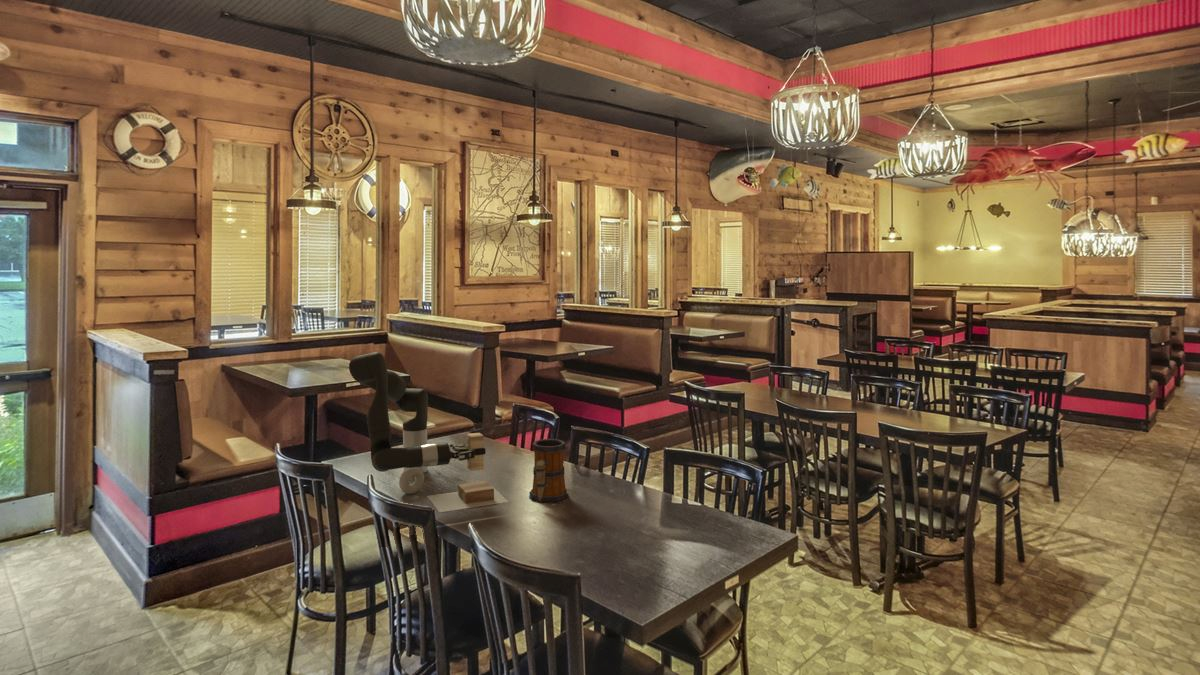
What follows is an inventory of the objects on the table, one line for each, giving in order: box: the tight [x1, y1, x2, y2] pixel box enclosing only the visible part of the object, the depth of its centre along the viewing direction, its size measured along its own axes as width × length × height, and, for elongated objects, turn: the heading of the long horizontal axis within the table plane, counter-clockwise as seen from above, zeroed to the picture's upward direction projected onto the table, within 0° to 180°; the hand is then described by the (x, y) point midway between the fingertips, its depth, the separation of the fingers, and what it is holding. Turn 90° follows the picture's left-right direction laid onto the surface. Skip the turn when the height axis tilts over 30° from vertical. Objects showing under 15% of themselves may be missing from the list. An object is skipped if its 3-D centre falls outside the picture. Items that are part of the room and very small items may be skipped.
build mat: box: [426, 487, 510, 513], centre depth 240 cm, size 18×24×1 cm
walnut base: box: [457, 480, 495, 504], centre depth 242 cm, size 10×10×4 cm
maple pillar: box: [466, 432, 485, 472], centre depth 240 cm, size 4×4×12 cm
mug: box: [528, 438, 570, 505], centre depth 240 cm, size 19×14×20 cm
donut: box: [398, 467, 425, 495], centre depth 246 cm, size 10×3×10 cm, turn 141°
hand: (482, 449), depth 241 cm, fingers closed on maple pillar, 4 cm apart
